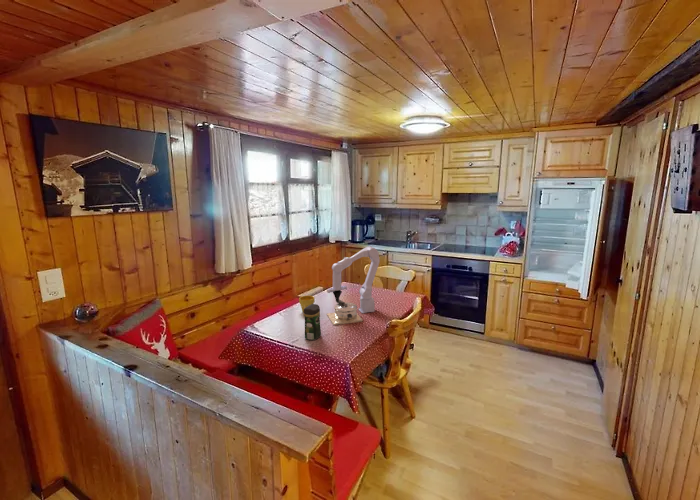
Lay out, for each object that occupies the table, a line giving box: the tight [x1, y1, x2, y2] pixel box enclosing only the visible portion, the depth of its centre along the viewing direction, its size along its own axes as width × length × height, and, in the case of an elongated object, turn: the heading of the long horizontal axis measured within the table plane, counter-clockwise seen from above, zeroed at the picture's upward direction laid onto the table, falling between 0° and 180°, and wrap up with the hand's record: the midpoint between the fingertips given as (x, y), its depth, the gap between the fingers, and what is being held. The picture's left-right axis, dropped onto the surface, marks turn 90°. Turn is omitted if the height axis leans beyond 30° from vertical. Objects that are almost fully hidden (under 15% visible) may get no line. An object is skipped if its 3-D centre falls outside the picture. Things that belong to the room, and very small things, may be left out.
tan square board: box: [326, 308, 363, 326], centre depth 213 cm, size 19×22×6 cm
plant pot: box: [298, 294, 315, 314], centre depth 224 cm, size 10×10×10 cm
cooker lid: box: [333, 299, 358, 312], centre depth 213 cm, size 18×15×3 cm
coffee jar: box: [303, 303, 322, 341], centre depth 183 cm, size 10×8×19 cm
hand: (337, 301), depth 218 cm, fingers closed, pressing on cooker lid
